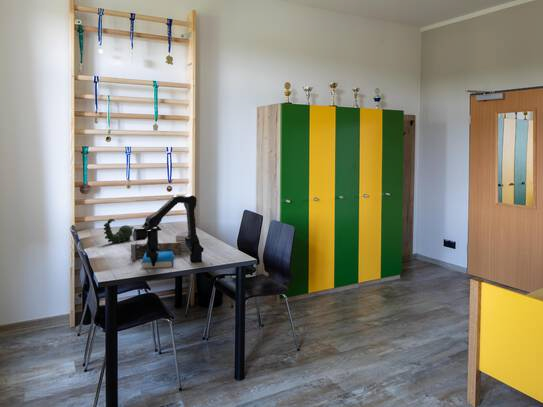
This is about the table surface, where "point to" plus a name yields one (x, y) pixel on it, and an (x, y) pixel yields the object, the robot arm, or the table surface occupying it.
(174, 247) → the shelf wall
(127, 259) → the table surface
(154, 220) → the robot arm
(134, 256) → the bookend
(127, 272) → the table surface
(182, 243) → the can
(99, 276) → the table surface
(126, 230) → the toy figurine
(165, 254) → the book
